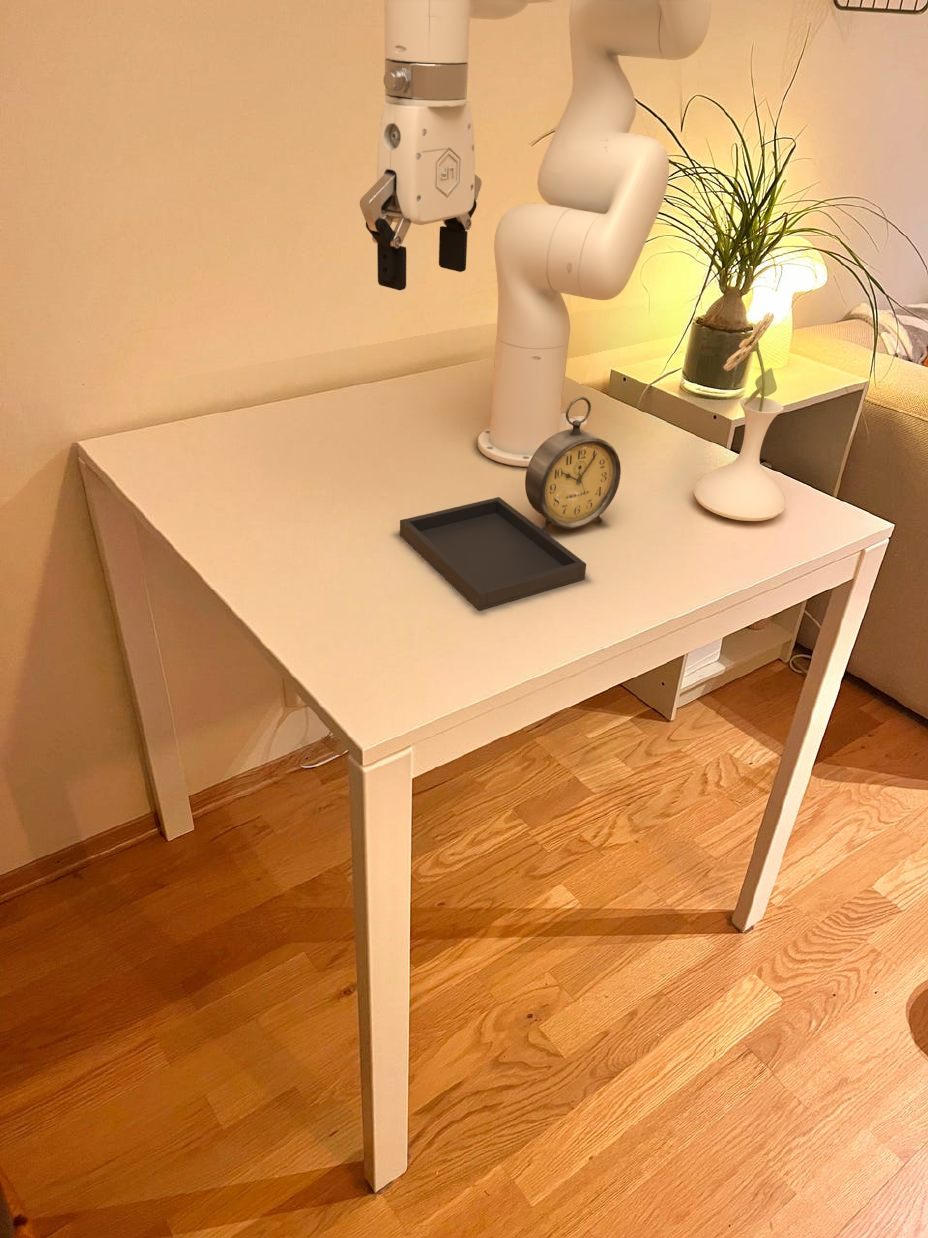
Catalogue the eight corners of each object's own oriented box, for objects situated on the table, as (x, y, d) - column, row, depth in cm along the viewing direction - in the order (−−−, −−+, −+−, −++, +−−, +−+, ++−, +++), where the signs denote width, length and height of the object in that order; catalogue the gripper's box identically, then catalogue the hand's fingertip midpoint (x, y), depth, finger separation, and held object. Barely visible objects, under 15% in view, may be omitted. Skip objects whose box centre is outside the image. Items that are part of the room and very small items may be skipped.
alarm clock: (537, 545, 106) (551, 412, 96) (514, 524, 109) (525, 394, 100) (615, 527, 110) (635, 398, 101) (590, 508, 114) (607, 382, 105)
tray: (497, 511, 112) (499, 496, 111) (584, 579, 100) (586, 563, 99) (399, 535, 106) (399, 519, 105) (479, 610, 94) (480, 594, 93)
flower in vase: (722, 480, 123) (766, 288, 108) (799, 511, 116) (856, 311, 102) (665, 509, 115) (705, 307, 101) (745, 544, 108) (798, 333, 94)
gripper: (396, 93, 76) (396, 303, 86) (513, 83, 87) (501, 269, 97) (330, 84, 79) (337, 287, 89) (451, 76, 91) (446, 256, 101)
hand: (423, 277), depth 93 cm, fingers open, 9 cm apart
